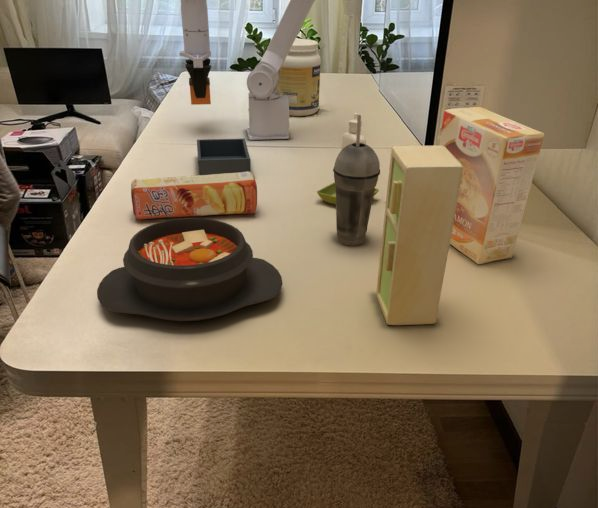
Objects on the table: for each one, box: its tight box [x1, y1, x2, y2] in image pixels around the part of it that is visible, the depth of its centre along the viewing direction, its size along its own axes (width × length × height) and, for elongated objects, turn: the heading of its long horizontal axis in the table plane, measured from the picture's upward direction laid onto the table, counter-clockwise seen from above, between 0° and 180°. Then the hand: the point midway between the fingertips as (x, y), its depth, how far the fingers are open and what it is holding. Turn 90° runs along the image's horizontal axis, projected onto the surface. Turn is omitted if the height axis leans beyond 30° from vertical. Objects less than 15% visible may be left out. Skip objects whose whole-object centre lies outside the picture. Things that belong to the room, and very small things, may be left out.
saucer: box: [316, 181, 380, 206], centre depth 111 cm, size 9×9×2 cm
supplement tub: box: [276, 38, 322, 117], centre depth 157 cm, size 12×12×17 cm
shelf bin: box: [196, 137, 252, 175], centre depth 123 cm, size 10×13×4 cm
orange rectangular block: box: [188, 77, 212, 106], centre depth 139 cm, size 5×4×5 cm
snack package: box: [130, 171, 258, 220], centre depth 103 cm, size 21×7×7 cm, turn 100°
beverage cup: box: [332, 114, 381, 246], centre depth 92 cm, size 7×7×20 cm
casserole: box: [96, 217, 283, 322], centre depth 80 cm, size 25×19×8 cm
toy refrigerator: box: [375, 145, 463, 326], centre depth 75 cm, size 8×7×21 cm
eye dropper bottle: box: [341, 112, 367, 150], centre depth 120 cm, size 4×6×12 cm
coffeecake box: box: [438, 106, 545, 265], centre depth 93 cm, size 15×7×20 cm, turn 23°
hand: (200, 95), depth 140 cm, fingers closed on orange rectangular block, 4 cm apart
